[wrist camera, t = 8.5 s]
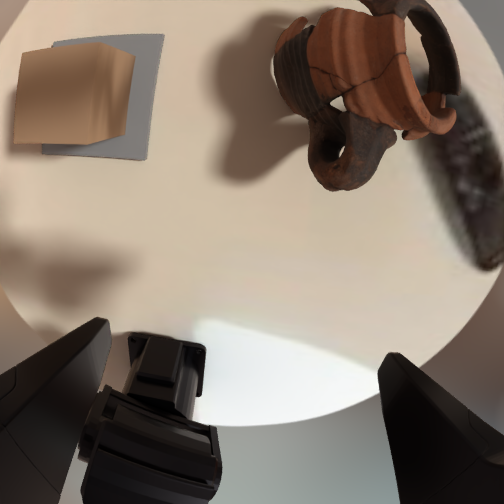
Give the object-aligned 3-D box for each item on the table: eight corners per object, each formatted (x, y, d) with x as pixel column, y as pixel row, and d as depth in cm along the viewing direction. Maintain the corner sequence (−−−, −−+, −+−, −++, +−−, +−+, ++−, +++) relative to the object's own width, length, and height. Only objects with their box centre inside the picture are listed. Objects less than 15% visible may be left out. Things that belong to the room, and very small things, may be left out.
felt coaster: (146, 159, 18) (144, 160, 18) (45, 153, 18) (41, 154, 17) (164, 35, 15) (162, 33, 15) (56, 42, 14) (53, 42, 14)
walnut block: (125, 134, 17) (87, 144, 13) (59, 132, 17) (13, 143, 12) (135, 56, 15) (100, 41, 11) (67, 59, 15) (22, 53, 10)
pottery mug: (281, -10, 14) (387, -56, 7) (376, 59, 19) (472, 52, 13) (225, 163, 16) (344, 178, 9) (343, 204, 21) (448, 232, 15)
